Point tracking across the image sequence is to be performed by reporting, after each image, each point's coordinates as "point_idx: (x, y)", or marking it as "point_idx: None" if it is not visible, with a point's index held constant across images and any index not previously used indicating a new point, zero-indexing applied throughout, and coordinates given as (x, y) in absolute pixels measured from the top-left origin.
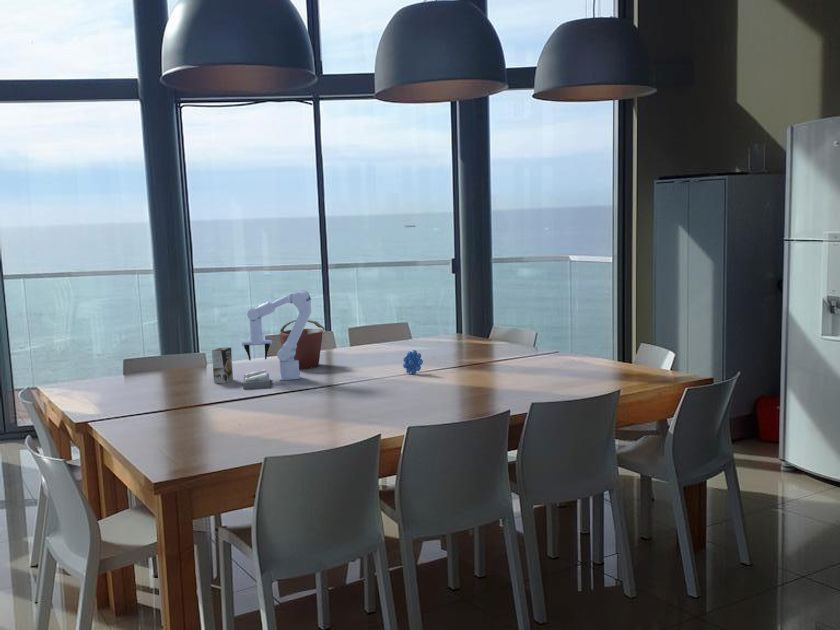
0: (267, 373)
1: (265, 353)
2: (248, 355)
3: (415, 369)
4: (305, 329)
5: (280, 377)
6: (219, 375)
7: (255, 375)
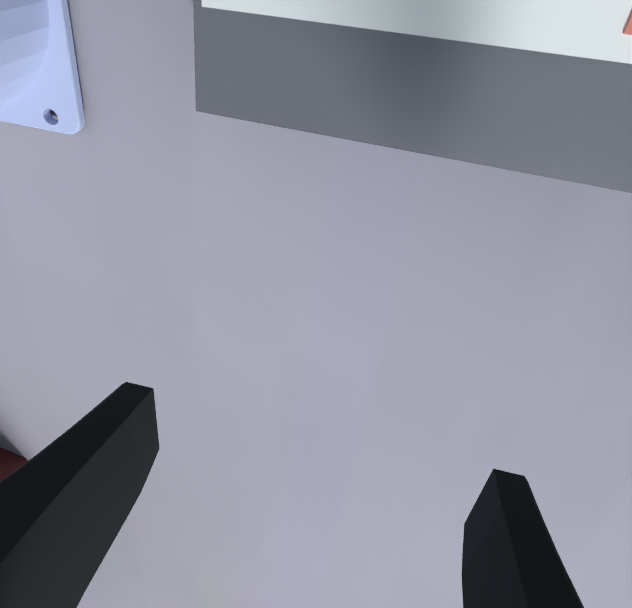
0: (222, 107)
1: (45, 495)
2: (572, 602)
3: None
4: None
5: (54, 40)
6: None
7: None
